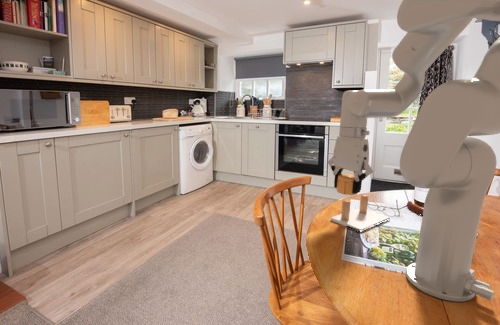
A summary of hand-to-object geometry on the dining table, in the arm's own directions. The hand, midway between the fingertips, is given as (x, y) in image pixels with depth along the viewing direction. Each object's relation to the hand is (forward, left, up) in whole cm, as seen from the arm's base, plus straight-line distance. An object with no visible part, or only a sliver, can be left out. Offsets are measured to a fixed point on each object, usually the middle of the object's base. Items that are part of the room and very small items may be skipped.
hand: (346, 189), depth 92 cm
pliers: (-13, -28, -12) cm, 33 cm away
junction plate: (-2, -5, -11) cm, 12 cm away
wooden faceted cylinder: (0, 0, -1) cm, 1 cm away
